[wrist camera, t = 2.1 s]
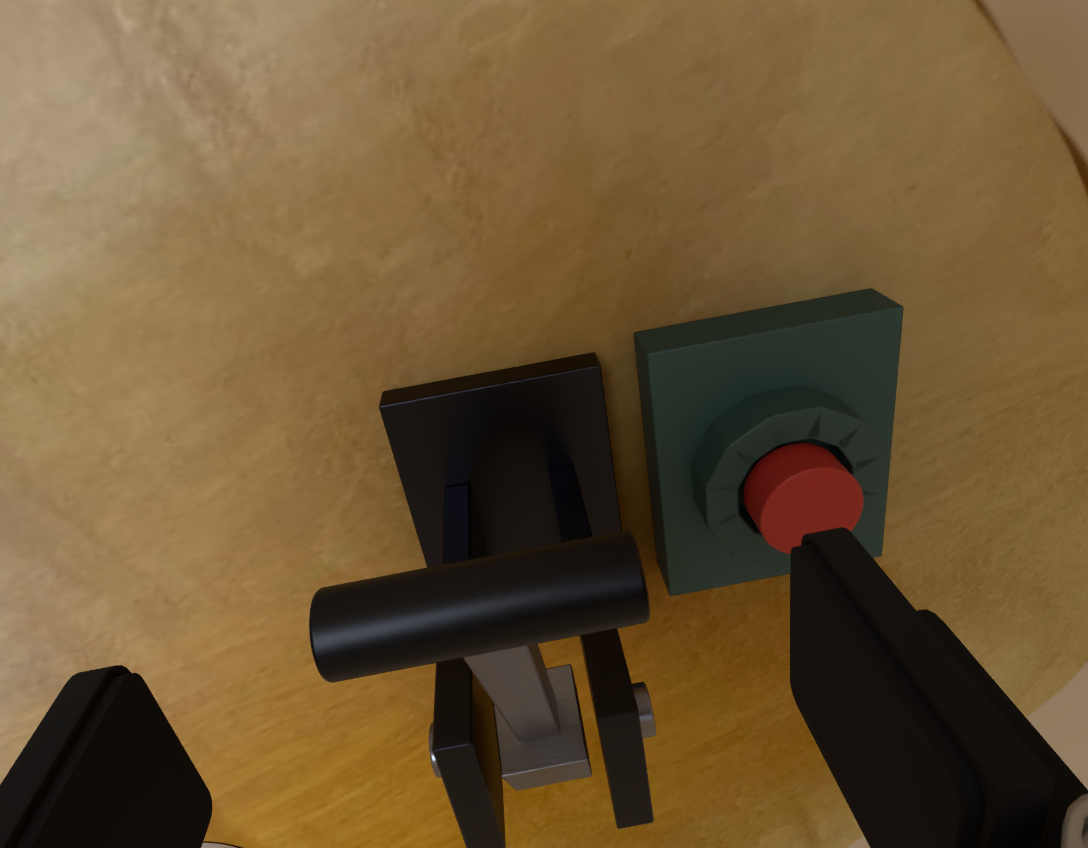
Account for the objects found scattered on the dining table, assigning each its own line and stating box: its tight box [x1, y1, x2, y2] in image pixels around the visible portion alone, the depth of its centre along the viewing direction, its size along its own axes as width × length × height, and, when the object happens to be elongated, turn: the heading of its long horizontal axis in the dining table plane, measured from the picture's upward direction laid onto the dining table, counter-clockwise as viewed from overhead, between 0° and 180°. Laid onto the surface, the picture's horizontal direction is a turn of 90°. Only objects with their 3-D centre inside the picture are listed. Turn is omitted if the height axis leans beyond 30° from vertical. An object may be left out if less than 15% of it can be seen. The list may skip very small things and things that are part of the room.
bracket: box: [379, 353, 656, 848], centre depth 23 cm, size 12×8×13 cm, turn 9°
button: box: [743, 443, 863, 554], centre depth 25 cm, size 4×4×2 cm
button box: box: [634, 289, 903, 596], centre depth 27 cm, size 11×9×4 cm
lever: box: [309, 530, 650, 791], centre depth 16 cm, size 12×5×2 cm, turn 9°
